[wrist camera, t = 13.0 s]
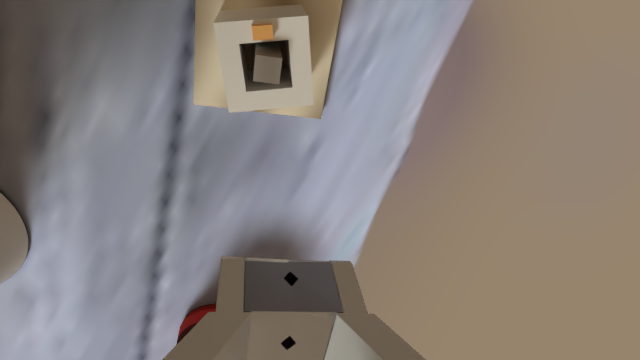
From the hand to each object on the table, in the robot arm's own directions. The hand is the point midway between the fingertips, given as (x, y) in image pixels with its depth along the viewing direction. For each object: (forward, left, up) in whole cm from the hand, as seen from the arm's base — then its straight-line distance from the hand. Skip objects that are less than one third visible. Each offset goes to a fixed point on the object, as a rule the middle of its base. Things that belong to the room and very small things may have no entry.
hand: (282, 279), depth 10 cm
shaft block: (0, 0, -25) cm, 25 cm away
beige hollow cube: (0, 0, -24) cm, 24 cm away
